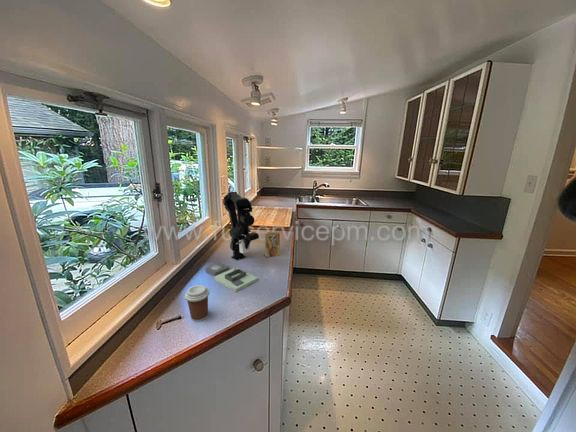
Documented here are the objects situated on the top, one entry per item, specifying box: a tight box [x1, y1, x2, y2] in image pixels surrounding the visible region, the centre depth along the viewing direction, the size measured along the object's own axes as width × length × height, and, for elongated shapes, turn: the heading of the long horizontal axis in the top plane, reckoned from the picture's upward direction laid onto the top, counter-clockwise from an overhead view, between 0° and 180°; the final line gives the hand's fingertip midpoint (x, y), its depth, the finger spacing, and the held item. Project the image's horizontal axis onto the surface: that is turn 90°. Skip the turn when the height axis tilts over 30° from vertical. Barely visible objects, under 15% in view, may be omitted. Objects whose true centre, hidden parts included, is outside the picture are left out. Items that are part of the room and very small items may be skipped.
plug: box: [236, 239, 251, 254], centre depth 134 cm, size 9×3×7 cm, turn 139°
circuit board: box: [213, 266, 259, 292], centre depth 123 cm, size 18×14×4 cm
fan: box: [204, 262, 230, 277], centre depth 132 cm, size 9×9×3 cm
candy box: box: [264, 230, 281, 258], centre depth 151 cm, size 9×4×15 cm, turn 110°
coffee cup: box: [184, 284, 210, 322], centre depth 95 cm, size 9×9×12 cm
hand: (244, 248), depth 135 cm, fingers closed on plug, 3 cm apart
